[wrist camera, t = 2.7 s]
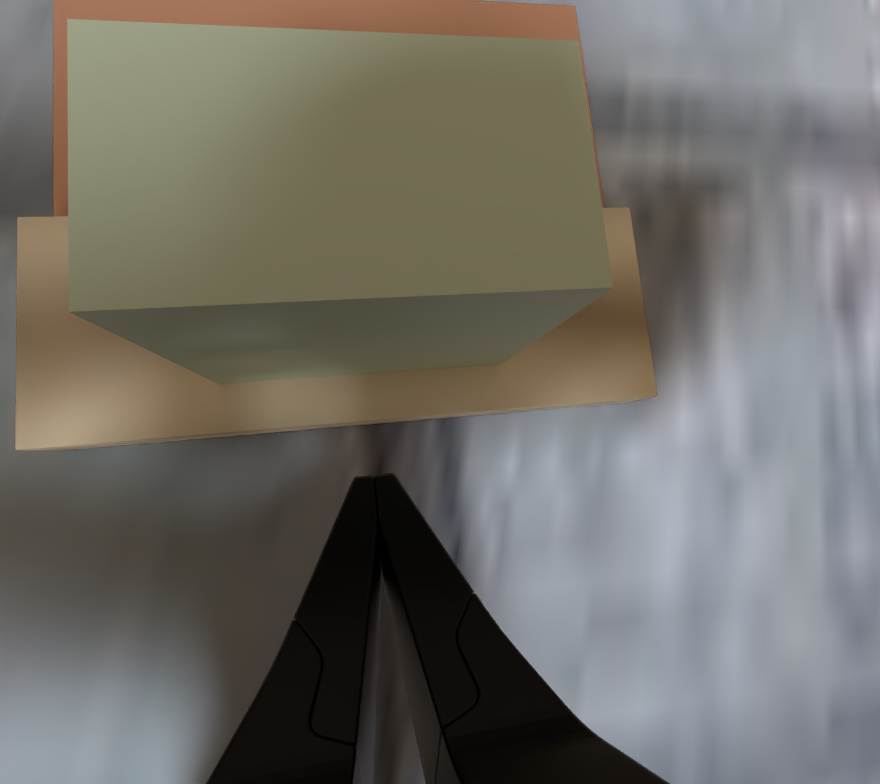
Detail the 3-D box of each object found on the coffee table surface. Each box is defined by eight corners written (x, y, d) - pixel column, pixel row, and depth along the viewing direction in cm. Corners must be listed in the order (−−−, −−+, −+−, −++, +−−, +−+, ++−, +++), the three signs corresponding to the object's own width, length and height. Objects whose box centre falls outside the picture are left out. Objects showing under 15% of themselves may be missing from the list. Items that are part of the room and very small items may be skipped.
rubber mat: (601, 222, 20) (605, 219, 19) (58, 234, 17) (53, 230, 16) (572, 12, 21) (575, 6, 21) (58, -15, 18) (53, -23, 17)
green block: (501, 364, 16) (613, 287, 9) (217, 383, 15) (68, 311, 7) (485, 223, 17) (577, 40, 9) (211, 228, 15) (67, 19, 8)
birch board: (627, 402, 19) (657, 396, 17) (59, 450, 16) (15, 450, 14) (603, 232, 20) (629, 207, 18) (59, 245, 16) (17, 217, 15)
